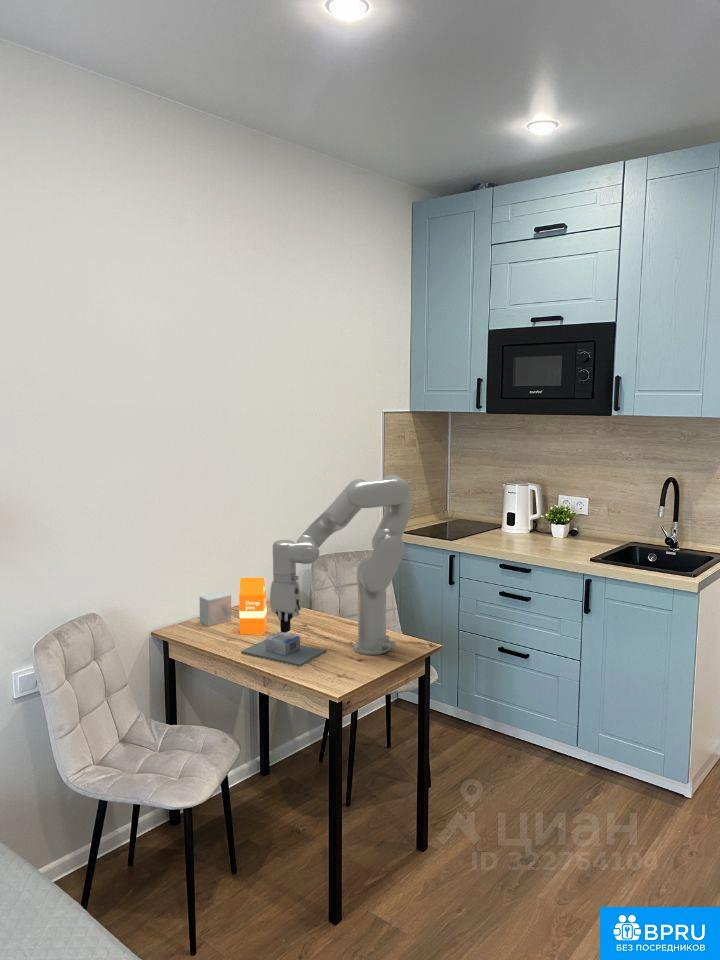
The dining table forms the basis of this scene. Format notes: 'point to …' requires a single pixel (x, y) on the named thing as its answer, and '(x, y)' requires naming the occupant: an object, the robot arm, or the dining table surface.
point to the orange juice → (252, 606)
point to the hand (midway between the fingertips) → (285, 631)
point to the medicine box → (282, 643)
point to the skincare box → (215, 608)
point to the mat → (292, 658)
